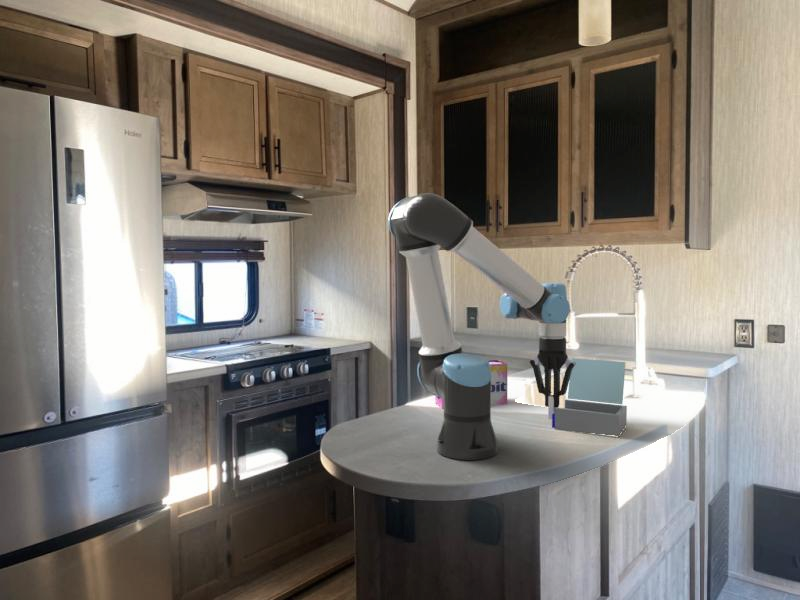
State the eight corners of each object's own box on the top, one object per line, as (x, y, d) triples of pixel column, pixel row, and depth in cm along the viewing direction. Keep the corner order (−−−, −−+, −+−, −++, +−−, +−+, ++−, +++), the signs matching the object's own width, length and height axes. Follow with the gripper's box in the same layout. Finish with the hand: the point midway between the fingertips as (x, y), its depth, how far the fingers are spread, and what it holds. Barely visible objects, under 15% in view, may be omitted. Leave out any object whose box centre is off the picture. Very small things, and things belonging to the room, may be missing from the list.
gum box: (438, 409, 191) (437, 367, 190) (431, 403, 199) (430, 363, 198) (508, 404, 197) (508, 363, 196) (498, 398, 205) (498, 359, 204)
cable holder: (561, 421, 177) (561, 407, 176) (572, 423, 174) (572, 409, 174) (547, 426, 171) (547, 412, 171) (558, 429, 168) (558, 415, 168)
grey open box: (618, 437, 159) (618, 415, 159) (554, 429, 168) (554, 408, 167) (626, 426, 169) (626, 405, 169) (565, 419, 178) (565, 399, 177)
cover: (625, 362, 173) (625, 362, 173) (571, 358, 180) (572, 358, 181) (621, 404, 170) (622, 404, 171) (567, 398, 178) (568, 398, 178)
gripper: (578, 336, 172) (578, 417, 174) (534, 334, 179) (533, 412, 181) (572, 339, 166) (571, 424, 168) (526, 337, 172) (526, 418, 174)
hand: (552, 418), depth 174 cm, fingers closed
